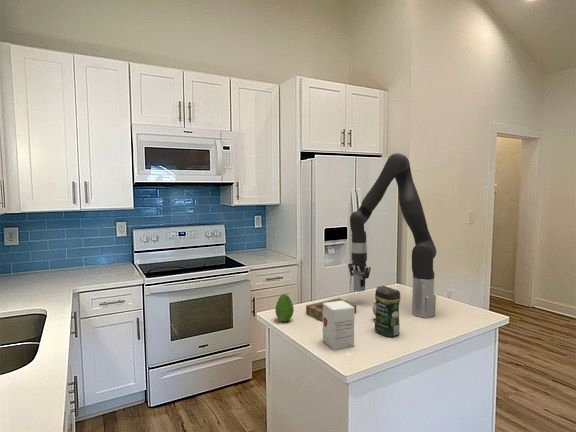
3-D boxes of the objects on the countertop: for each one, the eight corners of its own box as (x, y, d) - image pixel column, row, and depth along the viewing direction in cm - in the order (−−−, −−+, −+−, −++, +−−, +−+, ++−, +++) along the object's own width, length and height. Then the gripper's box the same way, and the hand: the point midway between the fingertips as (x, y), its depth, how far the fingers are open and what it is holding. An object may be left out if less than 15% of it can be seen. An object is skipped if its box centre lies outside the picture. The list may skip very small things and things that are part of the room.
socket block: (356, 313, 174) (356, 303, 174) (322, 321, 163) (322, 311, 163) (339, 306, 184) (339, 297, 184) (306, 313, 173) (306, 304, 173)
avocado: (279, 325, 159) (279, 297, 158) (273, 319, 167) (272, 292, 166) (296, 322, 162) (296, 295, 161) (289, 316, 170) (289, 290, 169)
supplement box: (321, 340, 143) (322, 302, 142) (342, 337, 147) (342, 299, 145) (333, 350, 135) (333, 309, 134) (354, 346, 138) (355, 306, 137)
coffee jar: (371, 330, 153) (371, 286, 151) (385, 327, 157) (385, 283, 155) (388, 339, 145) (389, 291, 143) (403, 334, 149) (404, 288, 147)
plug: (365, 290, 186) (365, 270, 185) (359, 291, 183) (359, 271, 183) (359, 288, 189) (359, 269, 188) (353, 289, 187) (353, 270, 186)
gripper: (375, 252, 181) (375, 287, 182) (354, 248, 193) (355, 281, 194) (363, 254, 177) (364, 290, 178) (343, 250, 189) (344, 284, 190)
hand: (359, 285), depth 186 cm, fingers closed on plug, 4 cm apart
